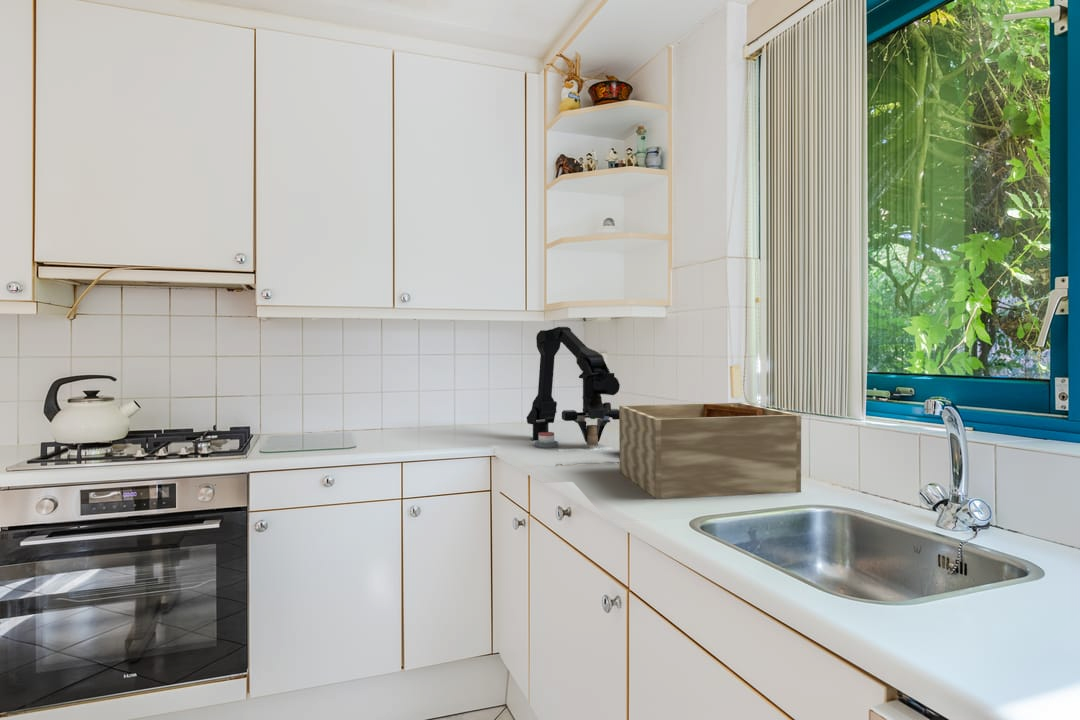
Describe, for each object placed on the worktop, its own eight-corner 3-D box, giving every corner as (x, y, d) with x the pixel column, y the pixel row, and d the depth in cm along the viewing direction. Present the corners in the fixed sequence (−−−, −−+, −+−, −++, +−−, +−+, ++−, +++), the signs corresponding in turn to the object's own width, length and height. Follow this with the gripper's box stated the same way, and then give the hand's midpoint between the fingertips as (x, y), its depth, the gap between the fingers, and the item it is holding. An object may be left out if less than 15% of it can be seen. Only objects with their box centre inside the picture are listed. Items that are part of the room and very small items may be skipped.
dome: (537, 441, 202) (537, 432, 202) (552, 440, 203) (552, 431, 203) (539, 443, 197) (539, 434, 197) (555, 443, 198) (555, 434, 198)
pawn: (585, 443, 196) (585, 425, 195) (596, 443, 196) (596, 424, 196) (588, 445, 192) (587, 426, 192) (599, 445, 193) (599, 426, 192)
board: (532, 448, 203) (532, 440, 203) (602, 445, 207) (602, 438, 207) (539, 456, 189) (539, 448, 188) (614, 453, 192) (614, 445, 192)
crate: (619, 471, 166) (619, 405, 166) (741, 466, 172) (741, 402, 171) (656, 499, 137) (655, 419, 137) (800, 491, 143) (801, 415, 142)
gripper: (568, 396, 184) (568, 447, 185) (627, 394, 187) (627, 445, 188) (561, 392, 195) (561, 441, 196) (617, 391, 198) (617, 439, 199)
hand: (592, 441), depth 194 cm, fingers closed on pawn, 3 cm apart
